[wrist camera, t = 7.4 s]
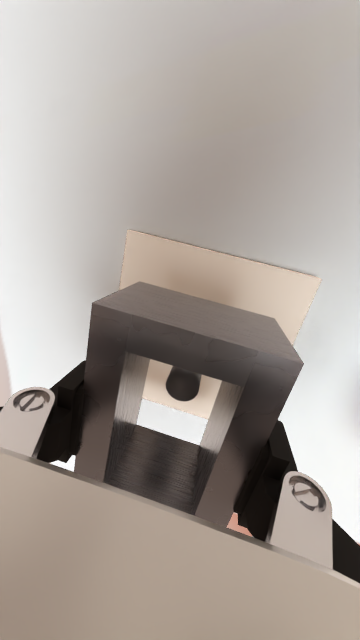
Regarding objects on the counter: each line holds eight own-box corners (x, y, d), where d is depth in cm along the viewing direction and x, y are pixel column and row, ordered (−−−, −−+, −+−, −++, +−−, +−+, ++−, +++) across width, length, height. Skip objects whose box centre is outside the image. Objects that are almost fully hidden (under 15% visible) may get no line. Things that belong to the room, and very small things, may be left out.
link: (139, 281, 11) (92, 302, 7) (274, 318, 10) (303, 363, 6) (113, 433, 14) (70, 506, 10) (215, 468, 13) (210, 559, 9)
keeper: (133, 230, 16) (75, 224, 10) (316, 276, 15) (378, 302, 9) (110, 379, 20) (60, 439, 14) (251, 424, 19) (263, 511, 13)
